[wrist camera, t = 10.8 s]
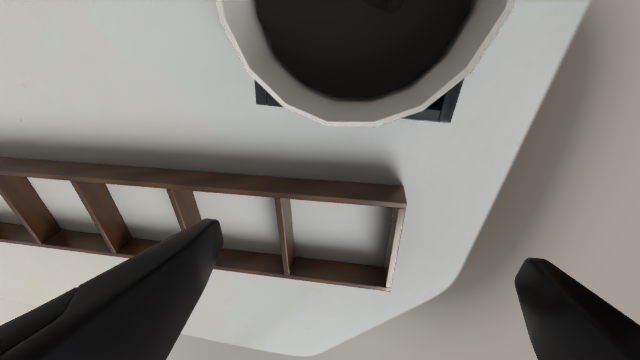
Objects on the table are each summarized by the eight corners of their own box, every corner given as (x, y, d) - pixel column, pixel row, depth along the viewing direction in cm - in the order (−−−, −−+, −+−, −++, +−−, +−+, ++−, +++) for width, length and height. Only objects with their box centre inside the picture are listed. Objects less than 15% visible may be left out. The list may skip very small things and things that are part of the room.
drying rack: (403, 185, 20) (407, 203, 18) (389, 271, 25) (390, 292, 23) (-131, 147, 28) (-167, 156, 26) (-63, 218, 33) (-89, 230, 31)
